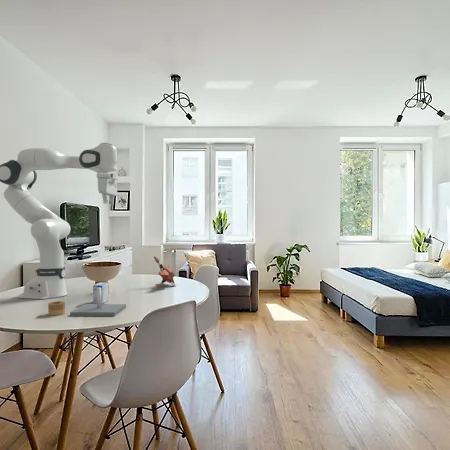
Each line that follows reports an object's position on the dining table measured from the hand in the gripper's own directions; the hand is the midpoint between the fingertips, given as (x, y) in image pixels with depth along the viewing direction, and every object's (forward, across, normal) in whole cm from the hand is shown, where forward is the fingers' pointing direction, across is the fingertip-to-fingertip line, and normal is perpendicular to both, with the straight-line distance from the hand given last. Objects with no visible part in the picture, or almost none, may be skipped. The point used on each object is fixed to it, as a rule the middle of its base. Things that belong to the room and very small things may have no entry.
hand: (108, 203), depth 179 cm
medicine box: (+46, +13, 0) cm, 48 cm away
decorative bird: (+46, -28, +24) cm, 59 cm away
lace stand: (+46, +30, +5) cm, 55 cm away
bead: (+46, +33, -11) cm, 58 cm away
